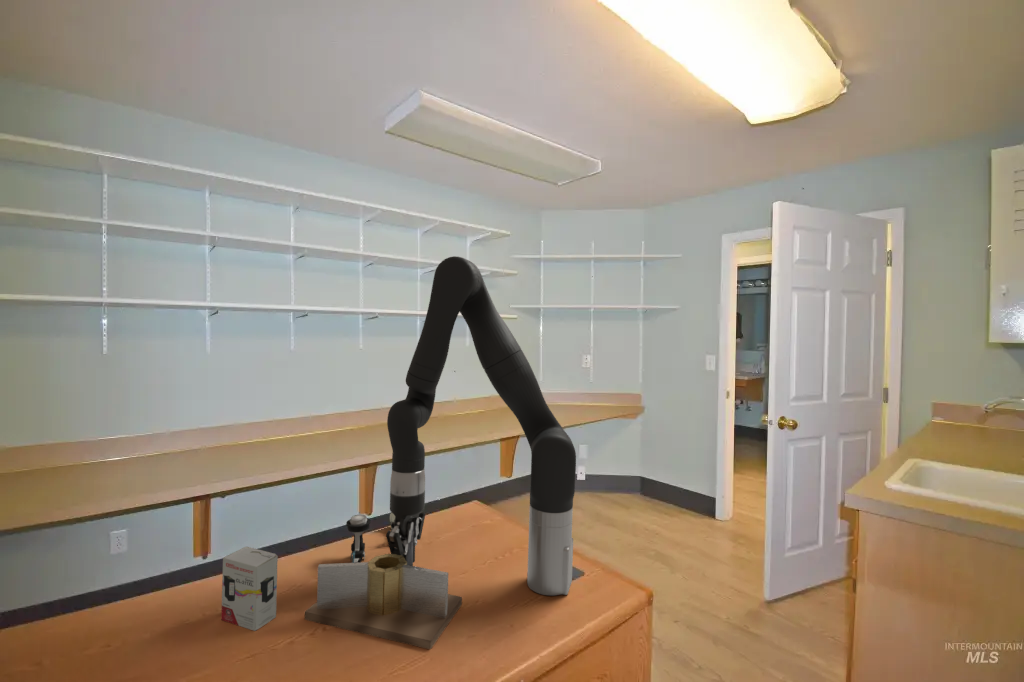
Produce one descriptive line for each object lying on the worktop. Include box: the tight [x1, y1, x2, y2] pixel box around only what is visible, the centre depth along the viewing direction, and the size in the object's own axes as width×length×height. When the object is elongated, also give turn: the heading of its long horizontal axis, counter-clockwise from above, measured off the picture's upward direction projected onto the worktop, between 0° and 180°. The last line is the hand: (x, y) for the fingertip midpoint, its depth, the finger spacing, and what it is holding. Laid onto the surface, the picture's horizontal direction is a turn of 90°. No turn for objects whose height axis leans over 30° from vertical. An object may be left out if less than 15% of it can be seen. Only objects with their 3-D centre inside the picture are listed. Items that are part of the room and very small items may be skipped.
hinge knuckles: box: [316, 553, 449, 618], centre depth 90 cm, size 24×9×8 cm, turn 74°
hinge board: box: [304, 593, 463, 650], centre depth 91 cm, size 26×14×2 cm, turn 74°
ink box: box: [220, 546, 279, 632], centre depth 88 cm, size 9×5×12 cm, turn 70°
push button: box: [345, 514, 372, 563], centre depth 110 cm, size 7×5×10 cm
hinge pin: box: [401, 528, 414, 566], centre depth 106 cm, size 3×3×10 cm
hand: (405, 565), depth 106 cm, fingers closed on hinge pin, 3 cm apart
